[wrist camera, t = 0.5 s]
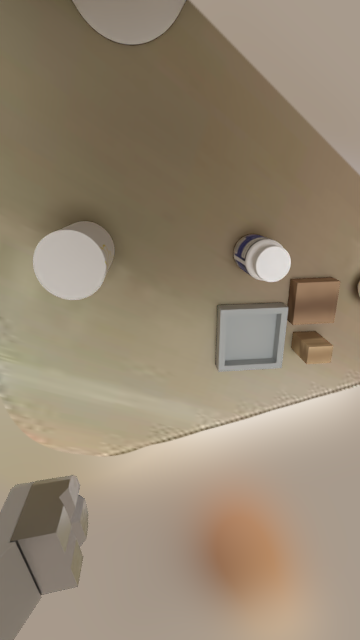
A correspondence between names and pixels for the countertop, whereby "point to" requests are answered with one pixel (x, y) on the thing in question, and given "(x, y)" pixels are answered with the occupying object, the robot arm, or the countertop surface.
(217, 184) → the countertop surface
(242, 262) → the pill bottle
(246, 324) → the tray
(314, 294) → the brown flat block
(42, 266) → the cup
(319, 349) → the block
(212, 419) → the countertop surface
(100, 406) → the countertop surface
